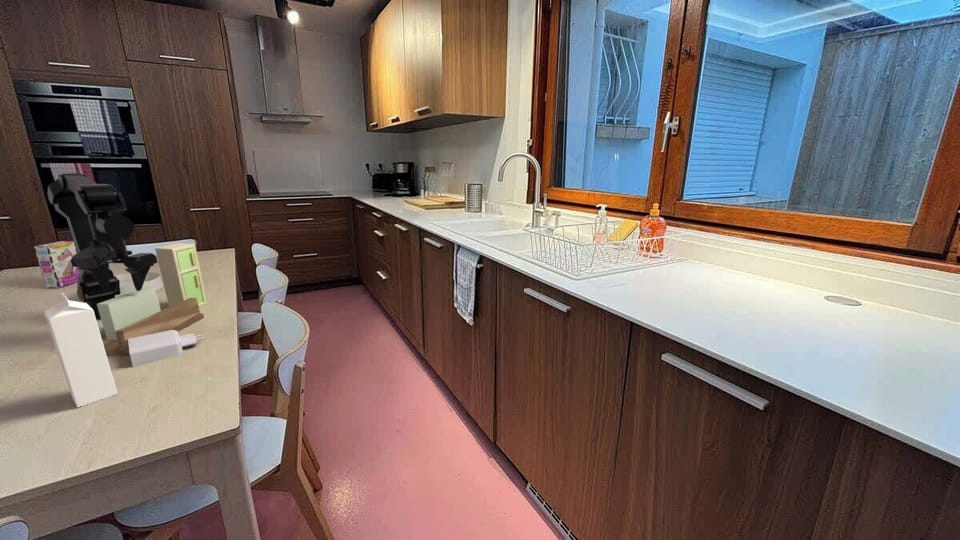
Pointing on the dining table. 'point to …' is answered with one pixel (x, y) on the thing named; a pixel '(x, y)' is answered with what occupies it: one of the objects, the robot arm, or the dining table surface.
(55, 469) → the dining table surface
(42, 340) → the dining table surface
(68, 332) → the milk
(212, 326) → the dining table surface
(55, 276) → the candy bar box
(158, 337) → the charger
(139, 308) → the door panel
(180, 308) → the cabinet base
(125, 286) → the dish
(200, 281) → the toy refrigerator
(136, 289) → the robot arm
